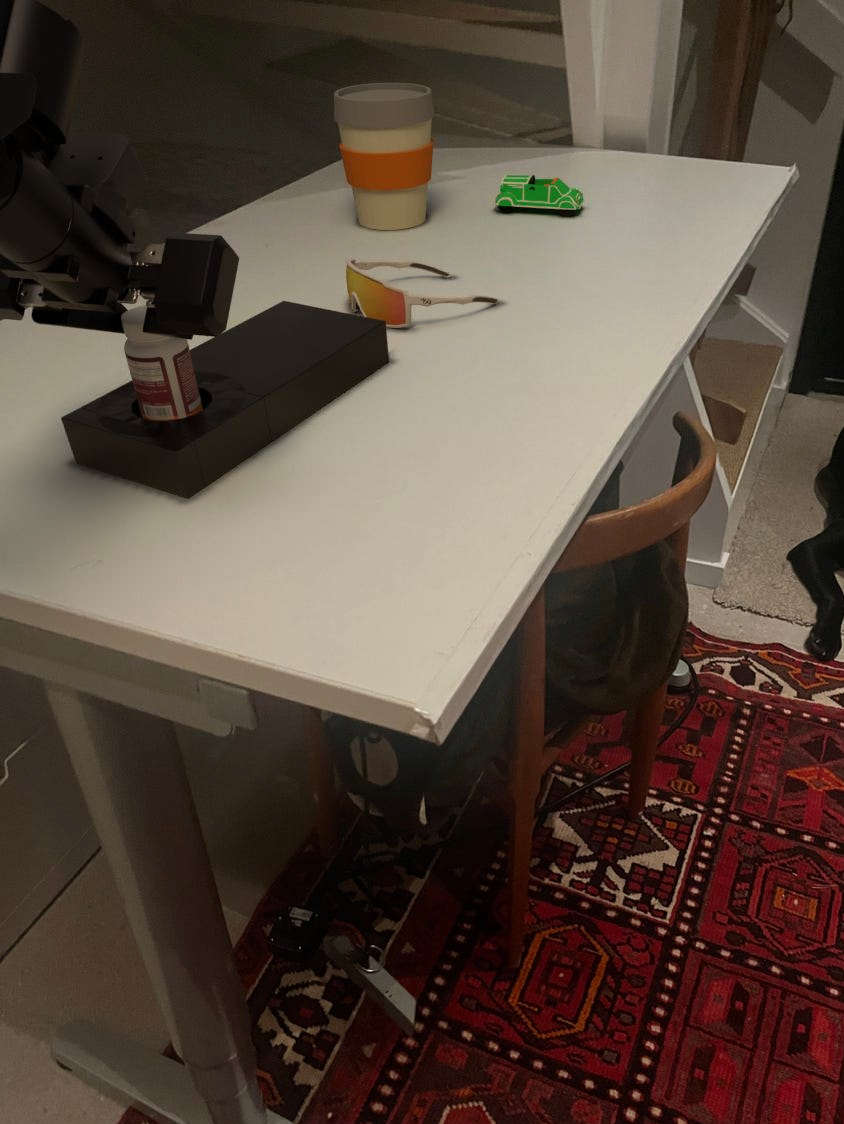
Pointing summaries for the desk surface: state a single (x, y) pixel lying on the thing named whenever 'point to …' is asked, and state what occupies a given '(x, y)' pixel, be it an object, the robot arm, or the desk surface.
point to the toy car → (537, 194)
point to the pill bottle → (160, 371)
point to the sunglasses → (393, 293)
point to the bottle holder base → (232, 397)
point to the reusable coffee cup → (386, 151)
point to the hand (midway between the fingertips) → (163, 330)
